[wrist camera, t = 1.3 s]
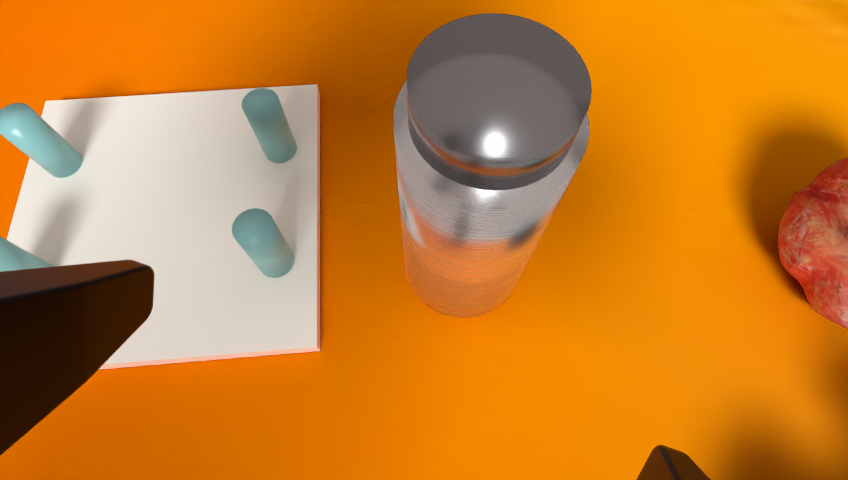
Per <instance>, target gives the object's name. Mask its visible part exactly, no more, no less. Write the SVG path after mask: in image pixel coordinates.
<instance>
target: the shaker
mask: <svg viewBox="0 0 848 480" xmlns="http://www.w3.org/2000/svg"><path fill="white" fill-rule="evenodd" d="M590 101H591V81H590V76H589V72H588V70H587V67H586V65H585V63H584V61H583V59H582V58H581V56H580V55H579V53H578V52H577V51H576V49H575V48H574V47H573V46H572V45H571V44H570V43H569V42H568V41H567V40H566V39H565V38H563V37H562V36H561V35H560V34H558V33H557V32H555V31H553V30H552V29H550V28H548V27H546V26H544V25H542V24H540V23H538V22H535V21H533V20H530V19H527V18H523V17H519V16H514V15H508V14H478V15H472V16H467V17H463V18H460V19H457V20H454V21H451V22H449V23H447V24H445V25H443V26H441V27H439V28H438V29H436V30H435V31H433V32H432V33H431V34H430V35H428V36H427V37H426V38H425V39H424V40H423V41H422V42H421V43H420V45H419V46H418V47H417V49H416V50H415V52H414V54H413V56H412V58H411V60H410V63H409V66H408V71H407V81H406V82H405V84H404V85H403V87H402V89H401V91H400V93H399V95H398V97H397V100H396V104H395V108H394V115H393V122H394V138H395V152H396V165H397V178H398V191H399V205H400V218H401V231H402V245H403V258H404V269H405V274H406V277H407V281H408V283H409V285H410V287H411V289H412V290H413V292H414V293H415V295H416V296H417V297H418V298H419V299H420V300H421V301H422V302H423V303H424V304H425V305H427V306H428V307H430V308H431V309H433V310H435V311H437V312H439V313H442V314H444V315H448V316H452V317H460V318H469V317H476V316H480V315H483V314H486V313H488V312H491V311H493V310H494V309H496V308H497V307H499V306H500V305H501V304H503V303H504V302H505V301H506V300H507V299H508V297H509V296H510V295H511V293H512V292H513V290H514V288H515V286H516V285H517V283H518V281H519V279H520V277H521V275H522V273H523V271H524V269H525V267H526V265H527V263H528V262H529V260H530V258H531V256H532V254H533V252H534V250H535V248H536V246H537V244H538V242H539V240H540V239H541V237H542V235H543V233H544V231H545V229H546V227H547V225H548V223H549V221H550V219H551V217H552V216H553V214H554V212H555V210H556V208H557V206H558V204H559V202H560V200H561V198H562V196H563V194H564V193H565V191H566V189H567V187H568V185H569V183H570V181H571V179H572V177H573V175H574V173H575V171H576V170H577V168H578V166H579V164H580V162H581V160H582V158H583V155H584V153H585V151H586V147H587V144H588V138H589V120H588V116H587V111H588V108H589V105H590Z"/></svg>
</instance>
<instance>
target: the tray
mask: <svg viewBox="0 0 848 480" xmlns="http://www.w3.org/2000/svg"><path fill="white" fill-rule="evenodd" d="M0 134H1V135H2V136H4V137H5V138H6V139H7V140H9V141H10V142H11V143H12V144H14V145H15V146H16V147H17V148H19V149H20V150H21V151H22V152H23V153H25V154H26V155H27V156H28V157H30V159H29V162H28V166H27V169H26V173H25V176H24V180H23V184H22V187H21V191H20V194H19V198H18V201H17V205H16V208H15V212H14V215H13V219H12V223H11V226H10V230H9V233H8V237H7V240H6V239H4V238H2V237H1V236H0V272H2V271H13V270H23V269H34V268H44V267H55V266H65V265H76V264H86V263H97V262H107V261H118V260H134V261H137V262H140V263H143V264H146V265H149V266H150V267H151V268H152V269H153V271H154V298H153V308H152V312H151V314H150V316H149V317H148V319H147V320H146V321H145V322H144V323H143V324H142V325H141V326H140V327H139V328H138V329H137V330H136V331H135V332H134V333H133V334H132V335H131V336H130V337H129V338H128V340H127V341H126V342H125V343H124V344H123V345H122V346H121V347H120V348H119V349H118V350H117V351H116V352H115V353H114V354H113V355H112V356H111V357H110V358H109V359H108V360H107V361H106V362H105V363H104V364H103V365H102V366H101V367H100V368H99V369H110V368H122V367H134V366H146V365H158V364H170V363H182V362H194V361H205V360H217V359H229V358H241V357H253V356H265V355H277V354H289V353H301V352H312V351H320V93H319V89H318V85H317V84H314V85H298V86H282V87H265V88H249V89H233V90H217V91H201V92H184V93H168V94H152V95H136V96H119V97H103V98H87V99H71V100H55V101H46V102H45V105H44V109H43V113H42V116H41V117H40V116H39V115H38V114H37V113H36V112H35V111H34V110H33V109H32V108H30V107H29V106H28V105H26V104H23V103H15V104H11V105H8V106H6V107H4V108H2V109H1V110H0ZM99 369H98V370H99Z"/></svg>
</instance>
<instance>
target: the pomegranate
mask: <svg viewBox="0 0 848 480" xmlns="http://www.w3.org/2000/svg"><path fill="white" fill-rule="evenodd" d="M778 251H779V257H780V261H781V264H782V266H783V267H784V269H785V270H786V271H787V272H788V273H790V274H791V275H792V276H793V277H794V278H795V279H796V280H798V282H799V283H800V285H801V286H802V287H803V289H804V292H805V295H806V298H807V300H808V302H809V304H810V306H811V308H813V309H814V310H815V311H816V312H817V313H819V314H820V315H822V316H824V317H825V318H827V319H828V320H831V321H833V322H835V323H837V324H839V325H841V326H842V327H844V328H847V329H848V157H847V158H844V159H842V160H839V161H837V162H835V163H834V164H832V165H830V166H829V167H827V168H826V169H825V170H823V171H822V172H820V173H819V174H818V176H817V177H816V178H815V180H814V181H813V182H812V184H810V185H809V186H808V187H806V188H804V189H802V190H800V191H798V192H796V193H795V194H794V196H793V197H792V199H791V201H790V203H789V205H788V207H787V208H786V210H785V212H784V214H783V216H782V218H781V221H780V226H779V233H778Z"/></svg>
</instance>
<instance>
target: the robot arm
mask: <svg viewBox="0 0 848 480" xmlns="http://www.w3.org/2000/svg"><path fill="white" fill-rule="evenodd" d="M153 298H154V271H153V269H152V268H151V267H150V266H149V265H146V264H143V263H140V262H137V261H134V260H118V261H107V262H97V263H86V264H76V265H65V266H55V267H44V268H34V269H23V270H13V271H2V272H0V455H1V454H3V453H4V452H5V451H6V450H7V449H8V448H10V447H11V446H12V445H13V444H14V443H15V442H17V441H18V440H19V439H20V438H21V437H22V436H24V435H25V434H26V433H27V432H28V431H30V430H31V429H32V428H33V427H34V426H35V425H37V424H38V423H39V422H40V421H41V420H42V419H44V418H45V417H46V416H47V415H48V414H49V413H51V412H52V411H53V410H54V409H55V408H56V407H58V406H59V405H60V404H61V403H62V402H63V401H65V400H66V399H67V398H68V397H69V396H70V395H72V394H73V393H74V392H75V391H76V390H77V389H78V388H80V387H81V386H82V385H83V384H84V383H85V382H86V381H87V380H88V379H89V378H90V377H91V376H92V375H93V374H94V373H95V372H96V371H97V370H98V369H99V368H100V367H101V366H102V365H103V364H104V363H105V362H106V361H107V360H108V359H109V358H110V357H111V356H112V355H113V354H114V353H115V352H116V351H117V350H118V349H119V348H120V347H121V346H122V345H123V344H124V343H125V342H126V341H127V340H128V338H129V337H130V336H131V335H132V334H133V333H134V332H135V331H136V330H137V329H138V328H139V327H140V326H141V325H142V324H143V323H144V322H145V321H146V320H147V319H148V317H149V316H150V314H151V312H152V308H153ZM637 480H710V479H709V478H708V477H707V476H706V474H705V473H704V472H703V471H702V470H701V469H700V468H699V467H698V466H697V465H696V464H695V463H694V462H693V461H692V460H691V459H690V457H689V456H688V455H687V454H685V453H683V452H681V451H678V450H675V449H672V448H669V447H667V446H664V445H658V446H656V447H655V448H654V449H653V450H652V452H651V454H650V456H649V457H648V459H647V461H646V463H645V465H644V467H643V469H642V470H641V472H640V474H639V476H638V478H637Z"/></svg>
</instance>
